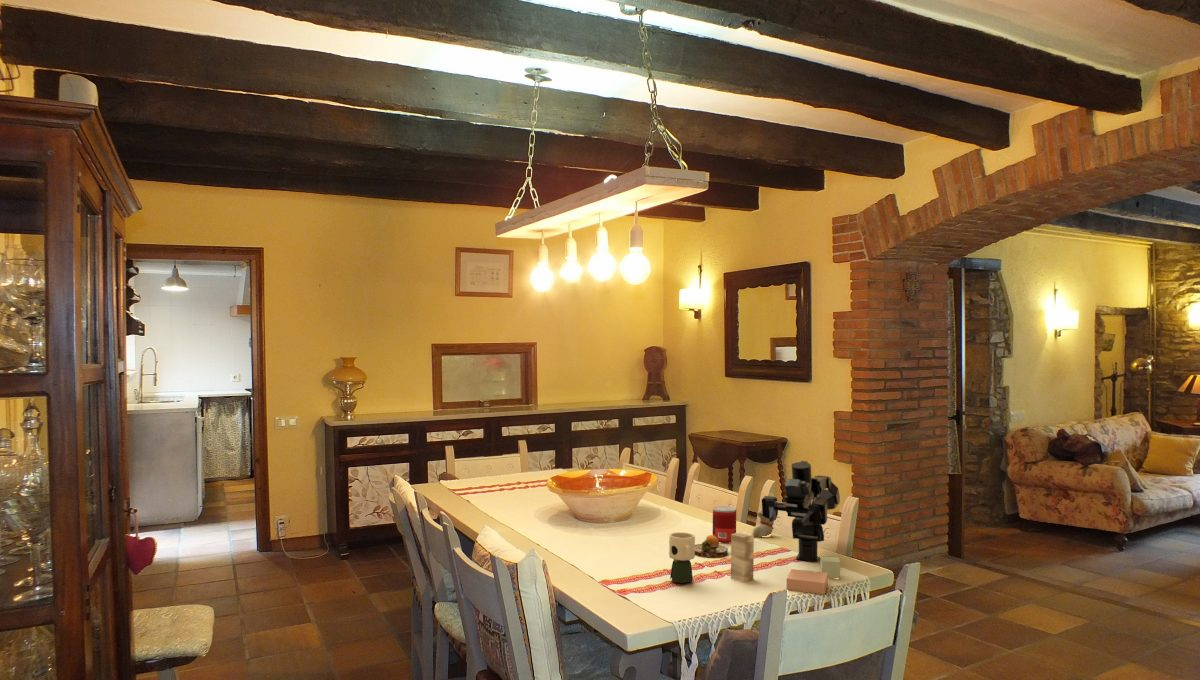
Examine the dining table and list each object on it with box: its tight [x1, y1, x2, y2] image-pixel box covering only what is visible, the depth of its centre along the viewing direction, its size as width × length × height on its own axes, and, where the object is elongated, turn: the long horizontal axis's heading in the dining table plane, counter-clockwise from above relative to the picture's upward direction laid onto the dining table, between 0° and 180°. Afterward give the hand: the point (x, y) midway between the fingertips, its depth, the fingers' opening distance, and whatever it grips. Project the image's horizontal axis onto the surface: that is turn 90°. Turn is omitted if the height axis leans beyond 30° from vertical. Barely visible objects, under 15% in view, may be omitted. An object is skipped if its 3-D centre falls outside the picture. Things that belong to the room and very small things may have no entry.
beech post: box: [730, 531, 755, 583], centre depth 215 cm, size 4×4×12 cm
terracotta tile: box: [785, 568, 829, 595], centre depth 209 cm, size 10×10×3 cm
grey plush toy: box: [751, 507, 775, 538], centre depth 267 cm, size 6×8×10 cm
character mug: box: [668, 531, 696, 584], centre depth 212 cm, size 11×7×13 cm, turn 14°
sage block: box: [819, 556, 841, 579], centre depth 219 cm, size 5×5×5 cm
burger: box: [695, 534, 729, 559], centre depth 243 cm, size 12×12×8 cm
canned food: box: [712, 505, 737, 544], centre depth 260 cm, size 8×8×11 cm
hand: (786, 522), depth 217 cm, fingers open, 9 cm apart
